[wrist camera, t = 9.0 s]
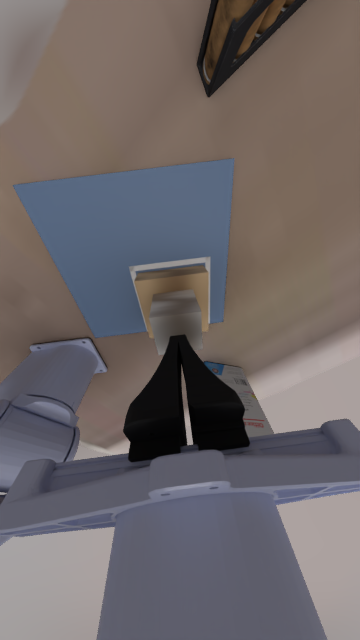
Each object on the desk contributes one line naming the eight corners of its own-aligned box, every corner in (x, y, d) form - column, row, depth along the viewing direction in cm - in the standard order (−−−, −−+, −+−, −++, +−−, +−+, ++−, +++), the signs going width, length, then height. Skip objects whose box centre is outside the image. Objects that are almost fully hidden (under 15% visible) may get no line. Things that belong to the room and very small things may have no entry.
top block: (160, 326, 20) (158, 354, 15) (153, 294, 17) (148, 318, 13) (194, 321, 20) (202, 349, 16) (192, 289, 17) (201, 311, 13)
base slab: (151, 325, 23) (149, 338, 21) (138, 273, 19) (133, 281, 16) (203, 318, 23) (208, 330, 21) (202, 265, 19) (208, 272, 16)
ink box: (195, 376, 32) (213, 475, 20) (204, 360, 29) (231, 462, 17) (230, 381, 34) (267, 474, 21) (242, 366, 31) (291, 462, 19)
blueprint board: (96, 335, 24) (95, 338, 24) (17, 186, 14) (11, 185, 14) (222, 320, 24) (223, 322, 24) (232, 160, 14) (234, 158, 14)
